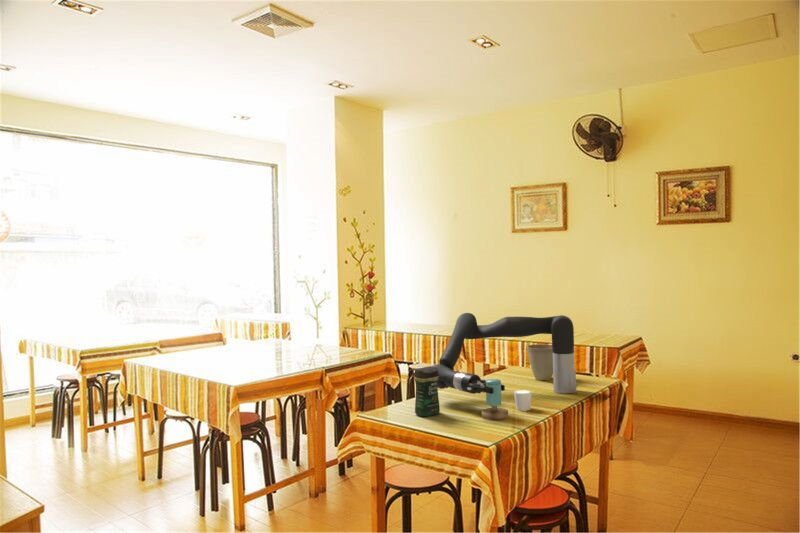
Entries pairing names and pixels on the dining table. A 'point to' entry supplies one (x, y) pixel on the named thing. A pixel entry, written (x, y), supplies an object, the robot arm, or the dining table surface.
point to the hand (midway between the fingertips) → (498, 389)
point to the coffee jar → (426, 391)
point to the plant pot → (541, 360)
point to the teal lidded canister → (496, 396)
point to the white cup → (522, 400)
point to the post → (494, 413)
